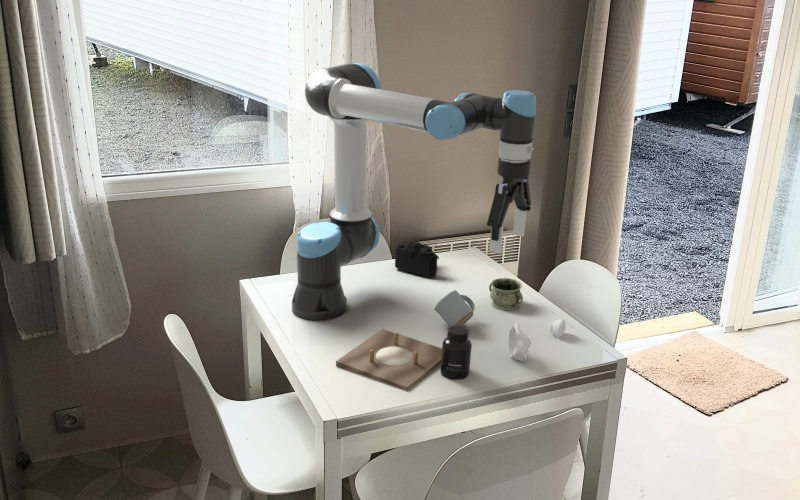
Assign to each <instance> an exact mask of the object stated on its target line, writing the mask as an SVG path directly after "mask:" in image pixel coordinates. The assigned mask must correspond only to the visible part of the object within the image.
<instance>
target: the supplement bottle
mask: <svg viewBox="0 0 800 500" xmlns="http://www.w3.org/2000/svg"><path fill="white" fill-rule="evenodd" d="M469 332H470V331H469V329H468V327H466V326H464V325H463V326H460V325H454V326H451V327H450V326H449V327H448V328H447V334H446V337H445V338H444V339H443V340H442V345H441V348H442V356H441V364H440V375H441V376H442V377H443V378H446V379H448V380H452V381H459V380H460V381H461V380H464V379H467V377H469V376H470V367H471V360H472V358H471V357H472V347H473V345H472V341H471V340H470V339H469Z"/></svg>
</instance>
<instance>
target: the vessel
mask: <svg viewBox="0 0 800 500" xmlns="http://www.w3.org/2000/svg"><path fill="white" fill-rule="evenodd" d="M488 285H489V286H488V289H489V293H490V294H489V295H490V298H491V300H492V301H491V306H492V307H493V308H495V309H497V310H502V311H513V310H515V309H520V308H521V305H522V304H523V302H524V297H523V293H522V292H521V289H522V287H523V285H522V283H521V281H519V280H517V279H513V278H508V277H499V278H496V279H493V280H492V281H491V282H490V283H489V284H488Z"/></svg>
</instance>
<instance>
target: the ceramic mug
mask: <svg viewBox="0 0 800 500" xmlns="http://www.w3.org/2000/svg"><path fill="white" fill-rule="evenodd" d="M475 309H476V305H475V303H474V300H472V298H470V297H468V295H464V294H460V293H459V292H458V291H457V290H455V289H454V290H452V291H450V292H449V293H447V294H446V295H445V296H444V297H442V298H441V299H440V300H439V301H438V302H437V303H436V304H435V306H434V312H436V313H437V314H438V315H439V316H440V317H441V318H442V320H443V321H444V322H445V323H446V324H447V325H448V326H449V327H451V326H454V325H460V326H464V325H466V323H468V322H469V320H471V319H472V317H473V316H474V311H475Z"/></svg>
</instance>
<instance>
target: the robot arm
mask: <svg viewBox="0 0 800 500" xmlns="http://www.w3.org/2000/svg"><path fill="white" fill-rule="evenodd" d="M304 95H305V99H306V102H307V104H308V106H309V107H310V108H311V109H312V110H313V111H314V112H315V113H316V114H320V115H321V116H326V117H328V118H329V119H330V120H331V121H332V122H333V128H334V129H333V130H334V131H333V133H334V134H333V136H334V138H333V139H334V140H333V142H334V146H333V147H334V199H335V200H334V201H335V206H334V208H333V209H331V211H330V213H329V222H328V221H320V222H318V223H317V222H313V223H310V224H307V225H305V226H304V227H302V228H301V229H300V230H299V231H298V233H297V237H296V245H295V248H296V268H297V270H296V271H297V273H296V274H297V284H296V287H295V290H294V293H293V296H292V300H291V311H292V313H293V314H294V316H295V315H296V316H297V317H298V318H301V319H303V320H308V321H329V320H333V319H337V318H340V317H342V316H343V315H344V314H345V313H346V312H347V310H348V301H347V300H348V299H347V297H346V296H345V292H344V289H343V286H342V283H341V282H342V281H341V279H342V278H341V270H342V267H344V266H346V265H348V264H349V263H351V262H354V261H356V260H358V259H361V258H364V257H365V256H367V255H368V254H369V253H371V252H373V251H374V250H375V249H376V247H377V245H378V243H379V240H380V228H379V225H378V223H376V219H375V218H374V217H373V216H372V211H371V210H370V209H369V208H368V207H367V124H368V121H372V122H375V123H376V122H377V123H380V124H386V125H391V126H396V127H399V128H400V127H401V128H406V129H411V130H416V131H421V132H425V133H428V134H429V135H431V136H432V138H434V139H435V140H439V141H446V140H451V139H454V138H457V137H458V136H461V135H464V134H467V133H470V132H473V131H476V130H479V129H485V130H491V131H492V130H493V131H499V132H500V133H499V134H500V135H499V136H500V137H499V143H498V157H499V158H498V160H497V170H496V171H497V175H498V176H501V177H502V182H501V184H499V183H496V184H495V190H494V196H493V200H492V203H491V207H490V211H489V215H488V219H487V222H486V225H487V226H488V227H490V241H489V249H488V250H489V252H491V253H495V254H501V253H502V248H503V247H502V246H503V235H504V226H503V223H504V220H505V217H506V216H507V213H508V210H509V206H510V204H512V203H513V201H514V204H515V206H516V209H514V219H513V227H512V235H514V236H517V237H522V238H524V236H525V230H526V220H527V219H526V217H527V212H530V211H531V209H532V208H531V205H532V200H531V199H532V198H531V193H530V184H529V175H530V173H531V163H532V162H531V160H530V159H532V152H534V147H533V140H534V139H533V138H534V129H535V120H536V114H537V111H536V109H537V108H536V107H537V97H536V95H535V93H533V92H531V91H528V90H522V89H521V90H519V89H512V90H511V89H510V90H506V91H505V92H504V93H503V97H497V96H490V95H483V94H480V93H479V94H478V93H476V92H472V93H471V92H463V93H460V94H458V95H457V97H456V98H455V100H454V101H447V100H440V99H435V98H430V97H423V96H419V95H412V94H407V93H401V92H396V91H390V90H385V89H382V88H381V82H380V78H379V76H378V74H377V73H376V72H375V71H374V69H373V68H372V67H370V66H369V65H367V64H364V63H361V62H357V63H356V62H355V63H353V62H352V63H350V62H348V63H345V64H341V65H340V64H339V65H335V66H330V67H323V68H320V69H318V70H316V71H315V72H313V73H312V74H311V75H310V77H309V78H308V79H307V81H306V84H305V88H304Z"/></svg>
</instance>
